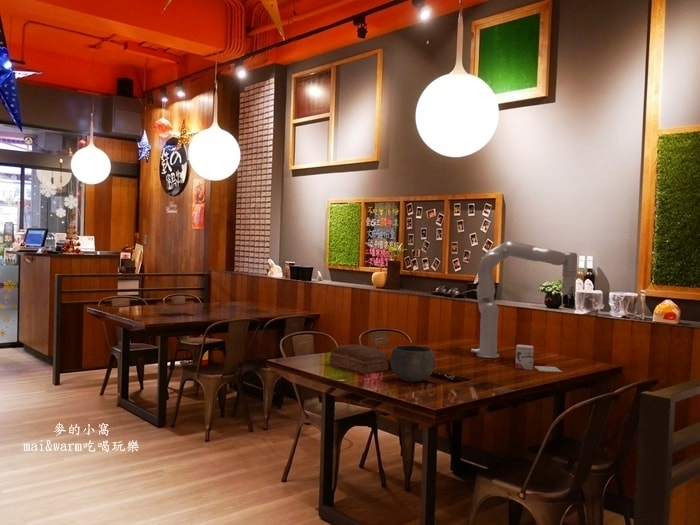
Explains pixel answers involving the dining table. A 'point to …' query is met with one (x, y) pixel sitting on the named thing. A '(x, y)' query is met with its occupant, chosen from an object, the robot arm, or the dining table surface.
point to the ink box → (524, 357)
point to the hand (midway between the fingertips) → (568, 304)
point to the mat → (547, 369)
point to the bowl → (412, 362)
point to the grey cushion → (359, 358)
